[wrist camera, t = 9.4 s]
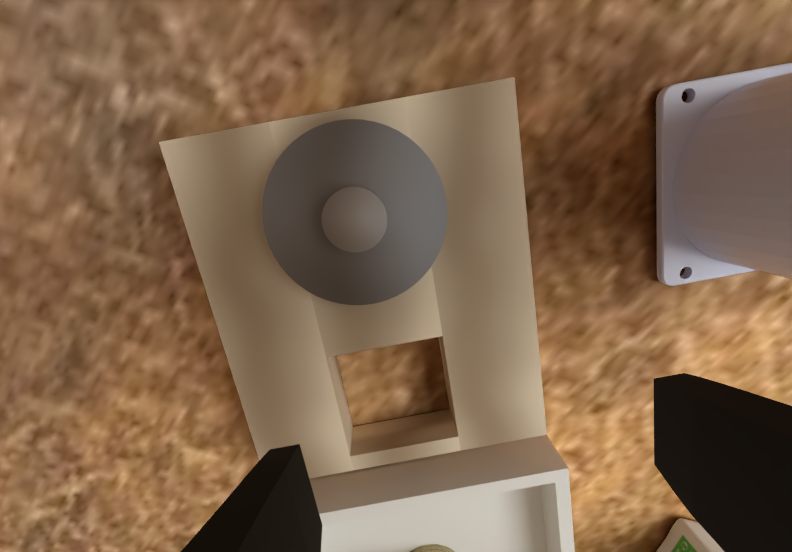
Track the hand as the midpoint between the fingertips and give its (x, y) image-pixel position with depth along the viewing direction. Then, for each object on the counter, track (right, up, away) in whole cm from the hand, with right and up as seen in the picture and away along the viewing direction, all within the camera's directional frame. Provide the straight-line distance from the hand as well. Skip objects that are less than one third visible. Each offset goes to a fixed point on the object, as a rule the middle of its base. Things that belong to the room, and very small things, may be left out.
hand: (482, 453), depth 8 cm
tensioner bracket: (-3, +3, +9) cm, 10 cm away
